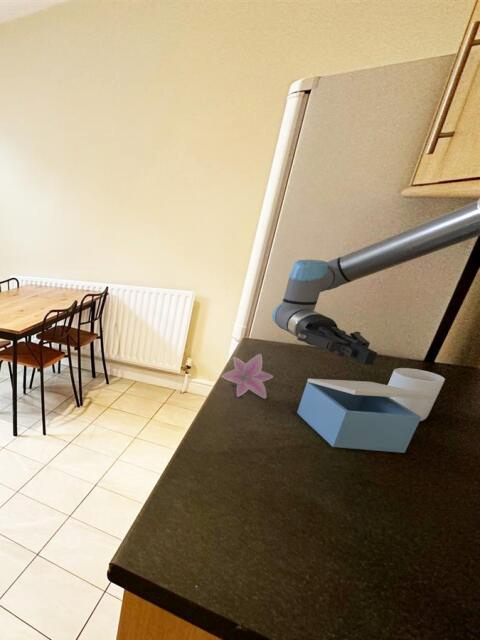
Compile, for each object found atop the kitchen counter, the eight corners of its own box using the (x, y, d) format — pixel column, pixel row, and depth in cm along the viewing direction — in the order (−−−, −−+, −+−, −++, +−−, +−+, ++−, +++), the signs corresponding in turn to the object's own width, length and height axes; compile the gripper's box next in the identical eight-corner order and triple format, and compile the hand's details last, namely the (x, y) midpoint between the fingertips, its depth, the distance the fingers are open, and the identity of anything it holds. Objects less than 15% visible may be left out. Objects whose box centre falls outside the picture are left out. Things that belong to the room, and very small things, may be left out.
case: (404, 452, 84) (421, 417, 81) (332, 446, 87) (346, 412, 83) (357, 417, 98) (370, 385, 94) (296, 412, 101) (307, 381, 97)
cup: (381, 416, 98) (398, 377, 94) (371, 397, 107) (386, 361, 103) (431, 425, 93) (450, 384, 89) (416, 404, 103) (433, 366, 98)
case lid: (432, 399, 79) (433, 395, 78) (354, 394, 81) (355, 390, 81) (370, 385, 94) (371, 381, 94) (307, 381, 97) (307, 378, 97)
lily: (208, 393, 114) (226, 372, 106) (219, 366, 120) (236, 344, 112) (254, 414, 110) (276, 393, 102) (262, 385, 116) (284, 363, 108)
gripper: (336, 342, 107) (401, 377, 86) (279, 340, 110) (328, 373, 89) (346, 314, 104) (415, 342, 83) (287, 313, 107) (340, 340, 86)
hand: (370, 358), depth 86 cm, fingers closed
